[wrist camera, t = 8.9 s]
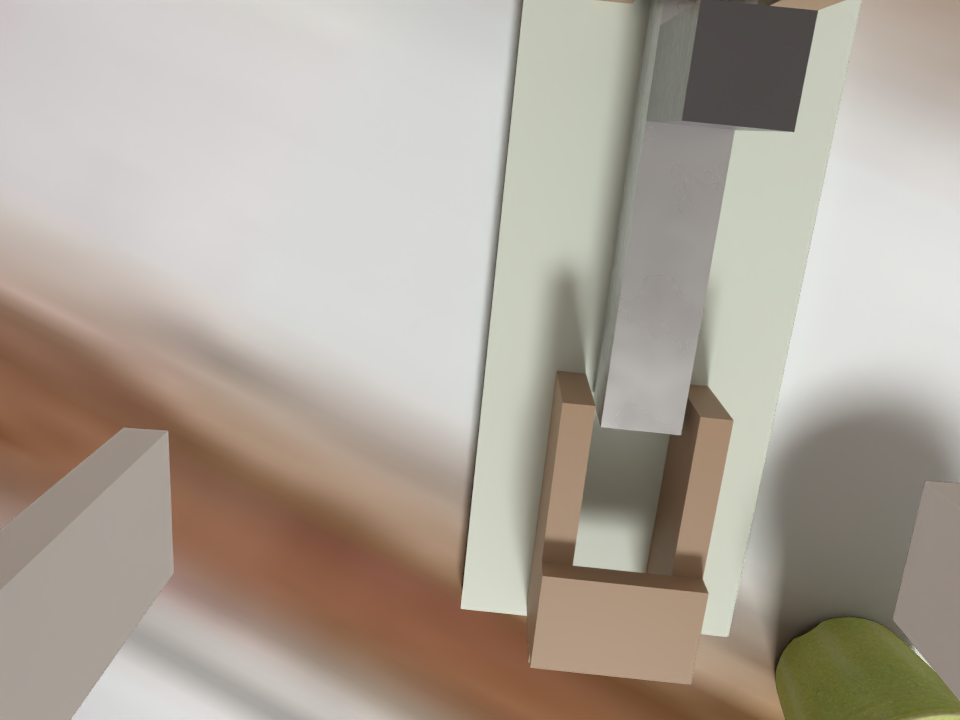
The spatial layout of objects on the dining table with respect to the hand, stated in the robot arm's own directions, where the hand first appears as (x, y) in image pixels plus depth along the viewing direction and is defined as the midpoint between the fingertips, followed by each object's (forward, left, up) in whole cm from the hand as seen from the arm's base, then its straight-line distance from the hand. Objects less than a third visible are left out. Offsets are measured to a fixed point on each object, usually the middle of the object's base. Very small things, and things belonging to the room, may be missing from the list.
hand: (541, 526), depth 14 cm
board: (+5, +1, -20) cm, 21 cm away
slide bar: (+5, +5, -19) cm, 20 cm away
